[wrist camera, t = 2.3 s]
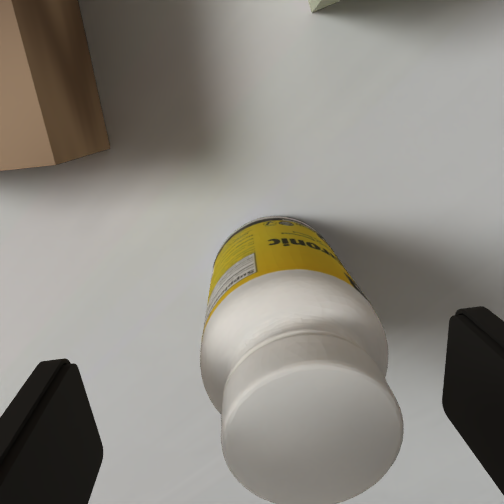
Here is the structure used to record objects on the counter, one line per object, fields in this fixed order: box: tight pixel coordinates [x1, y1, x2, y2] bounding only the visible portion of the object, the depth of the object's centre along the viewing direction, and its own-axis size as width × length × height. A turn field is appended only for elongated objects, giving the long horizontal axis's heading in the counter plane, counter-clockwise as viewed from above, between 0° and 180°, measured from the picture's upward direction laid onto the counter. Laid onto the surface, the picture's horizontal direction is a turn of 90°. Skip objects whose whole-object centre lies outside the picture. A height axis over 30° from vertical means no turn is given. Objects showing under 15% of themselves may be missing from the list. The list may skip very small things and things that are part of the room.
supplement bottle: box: [200, 216, 403, 504], centre depth 13 cm, size 5×5×10 cm
